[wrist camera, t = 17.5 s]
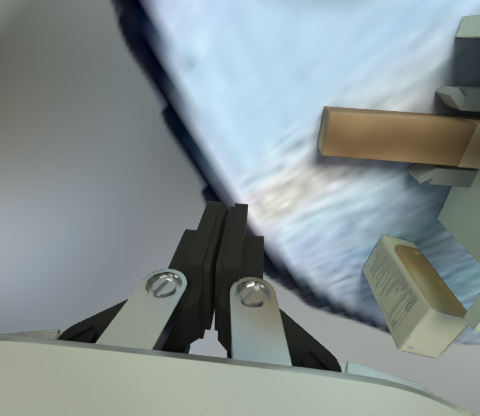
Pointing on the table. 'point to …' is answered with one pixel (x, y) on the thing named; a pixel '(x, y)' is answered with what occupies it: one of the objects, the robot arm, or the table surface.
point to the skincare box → (413, 298)
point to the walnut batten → (400, 136)
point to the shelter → (459, 175)
